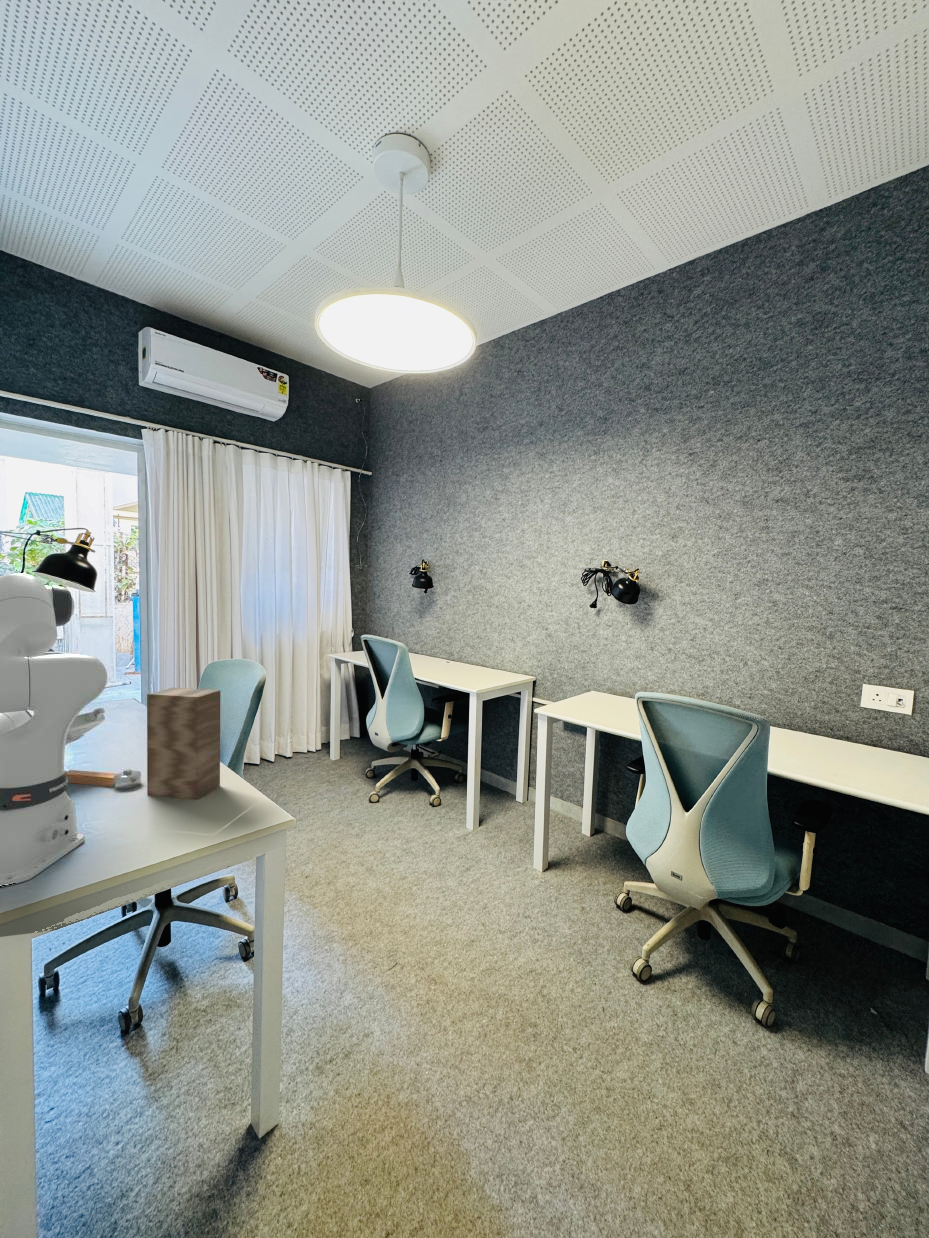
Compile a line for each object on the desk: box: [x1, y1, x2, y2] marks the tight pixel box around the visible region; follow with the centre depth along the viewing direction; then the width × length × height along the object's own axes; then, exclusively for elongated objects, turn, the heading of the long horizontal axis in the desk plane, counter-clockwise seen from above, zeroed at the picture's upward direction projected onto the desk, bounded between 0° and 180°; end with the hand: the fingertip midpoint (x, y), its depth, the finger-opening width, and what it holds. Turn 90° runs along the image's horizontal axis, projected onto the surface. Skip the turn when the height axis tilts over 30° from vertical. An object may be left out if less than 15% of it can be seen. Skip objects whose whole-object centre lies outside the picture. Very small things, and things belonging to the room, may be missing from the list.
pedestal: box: [146, 687, 221, 800], centre depth 129 cm, size 14×9×26 cm, turn 82°
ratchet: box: [66, 768, 142, 791], centre depth 133 cm, size 22×6×4 cm, turn 82°
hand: (86, 714), depth 132 cm, fingers open, 8 cm apart
